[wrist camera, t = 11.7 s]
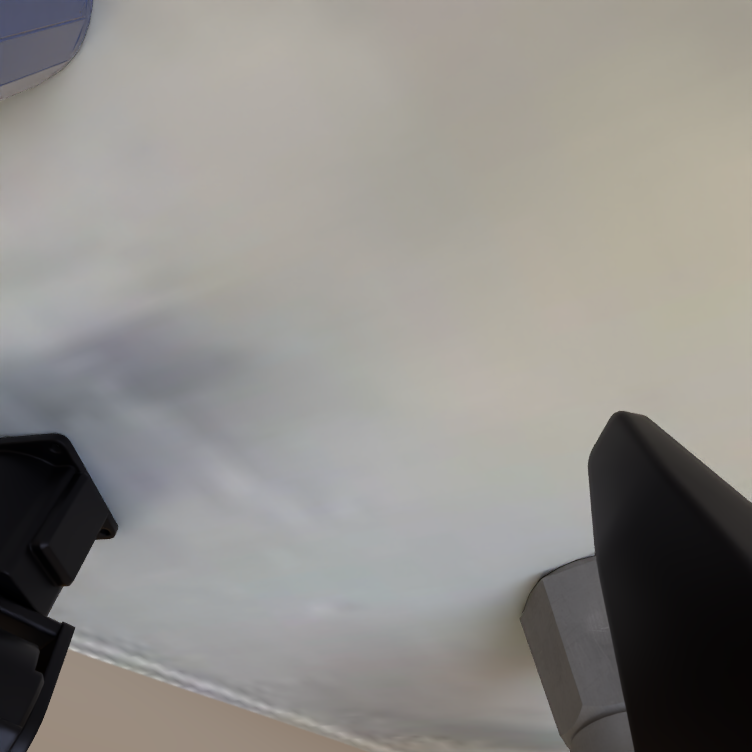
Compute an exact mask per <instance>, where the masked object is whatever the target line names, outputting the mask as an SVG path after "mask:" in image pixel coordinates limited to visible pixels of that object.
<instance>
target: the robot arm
mask: <svg viewBox="0 0 752 752" xmlns="http://www.w3.org/2000/svg"><path fill="white" fill-rule="evenodd" d="M58 445H59V446H58ZM588 475H589V487H590V499H591V511H592V523H593V535H594V546H595V555H596V562H597V568H598V574H599V579H600V584H601V589H602V594H603V599H604V604H605V609H606V614H607V619H608V623H609V628H610V633H611V638H612V643H613V648H614V653H615V658H616V663H617V668H618V673H619V678H620V683H621V688H622V693H623V697H624V702H625V707H626V712H627V717H628V722H629V727H630V732H631V737H632V742H633V747H634V752H752V503H751V502H750V501H748V500H747V499H746V498H745V497H744V496H742V495H741V494H740V493H739V492H738V491H736V490H735V489H734V488H733V487H731V486H730V485H729V484H728V483H727V482H725V481H724V480H723V479H722V478H721V477H719V476H718V475H717V474H716V473H715V472H713V471H712V470H711V469H710V468H709V467H707V466H706V465H705V464H704V463H702V462H701V461H700V460H699V459H698V458H696V457H695V456H694V455H693V454H692V453H690V452H689V451H688V450H687V449H686V448H684V447H683V446H682V445H681V444H680V443H678V442H677V441H676V440H675V439H674V438H672V437H671V436H670V435H669V434H667V433H666V432H665V431H664V430H663V429H661V428H660V427H659V426H658V425H657V424H655V423H654V422H653V421H652V420H651V419H649V418H648V417H646V416H644V415H640V414H635V413H630V412H625V411H618V412H616V413H614V414H613V415H612V416H611V418H610V419H609V421H608V422H607V424H606V426H605V428H604V429H603V431H602V433H601V435H600V436H599V438H598V440H597V442H596V444H595V445H594V447H593V449H592V451H591V453H590V456H589V460H588ZM117 530H118V525H117V523H116V521H115V520H114V518H113V516H112V514H111V513H110V511H109V509H108V507H107V506H106V504H105V502H104V500H103V498H102V497H101V495H100V493H99V491H98V490H97V488H96V486H95V484H94V483H93V481H92V479H91V477H90V475H89V474H88V472H87V470H86V468H85V467H84V465H83V463H82V461H81V460H80V458H79V456H78V454H77V452H76V451H75V449H74V447H73V445H72V444H71V442H70V440H69V439H68V438H67V437H65V436H64V435H61V434H43V435H30V436H18V437H5V438H0V752H26V751H27V750H28V748H29V746H30V744H31V743H32V741H33V739H34V737H35V735H36V733H37V731H38V729H39V727H40V725H41V723H42V721H43V718H44V715H45V713H46V710H47V708H48V705H49V702H50V699H51V696H52V693H53V691H54V688H55V685H56V682H57V679H58V676H59V673H60V670H61V667H62V665H63V662H64V658H65V656H66V653H67V650H68V647H69V645H70V642H71V639H72V636H73V633H74V630H75V627H73V626H71V625H69V624H67V623H65V622H62V623H59V622H57V621H55V620H53V619H51V618H49V617H47V615H48V614H49V612H50V610H51V608H52V606H53V604H54V602H55V601H56V599H57V597H58V595H59V593H60V591H61V589H62V588H63V586H70V584H71V583H72V582H73V581H74V579H75V577H76V575H77V573H78V571H79V570H80V568H81V566H82V564H83V562H84V560H85V558H86V556H87V554H88V552H89V551H90V549H91V547H92V545H93V543H94V541H95V540H99V539H111V538H113V537H114V536H115V534H116V532H117Z"/></svg>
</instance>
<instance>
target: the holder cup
mask: <svg viewBox="0 0 752 752" xmlns="http://www.w3.org/2000/svg"><path fill="white" fill-rule="evenodd" d="M92 4H93V0H0V101H1V100H3V99H6V98H8V97H11V96H13V95H16V94H18V93H21V92H23V91H25V90H28V89H30V88H33V87H35V86H37V85H39V84H40V83H42V82H43V81H44V80H46V79H48V78H50V77H52V76H53V75H55V74H56V73H58V72H59V71H61V70H62V69H63V68H64V67H65V66H66V65H67V64H68V63H69V62H70V61H71V60H72V58H73V57H74V55H75V54H76V53H77V51H78V50H79V48H80V46H81V44H82V42H83V40H84V38H85V35H86V32H87V29H88V26H89V23H90V17H91V11H92Z"/></svg>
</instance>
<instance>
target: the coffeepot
mask: <svg viewBox="0 0 752 752" xmlns="http://www.w3.org/2000/svg"><path fill="white" fill-rule="evenodd" d="M520 621H521V624H522V627H523V630H524V633H525V636H526V638H527V641H528V644H529V647H530V650H531V653H532V656H533V659H534V662H535V665H536V668H537V670H538V673H539V676H540V679H541V682H542V685H543V688H544V691H545V694H546V697H547V699H548V702H549V705H550V708H551V711H552V714H553V717H554V720H555V723H556V726H557V728H558V731H559V734H560V736H561V738H562V739H563V741H564V742H565V744H566V745H567V747H568V748H569V749H570V752H634V747H633V742H632V737H631V732H630V727H629V722H628V717H627V712H626V707H625V702H624V697H623V693H622V688H621V683H620V678H619V673H618V668H617V663H616V658H615V653H614V648H613V643H612V638H611V633H610V628H609V623H608V619H607V614H606V609H605V604H604V599H603V594H602V589H601V584H600V579H599V574H598V568H597V562H596V556H593V557H589V558H585V559H582V560H578V561H574V562H572V563H570V564H567V565H565V566H563V567H560V568H558V569H557V570H555V571H553V572H552V573H550V574H549V575H547V576H545V577H544V578H542V579H541V580H540V581H539V582H538V583H537V585H536V586H535V587H534V589H533V590H532V591H531V593H530V595H529V597H528V600H527V603H526V607H525V610H524V612H523V614H522V615H521V617H520Z"/></svg>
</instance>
